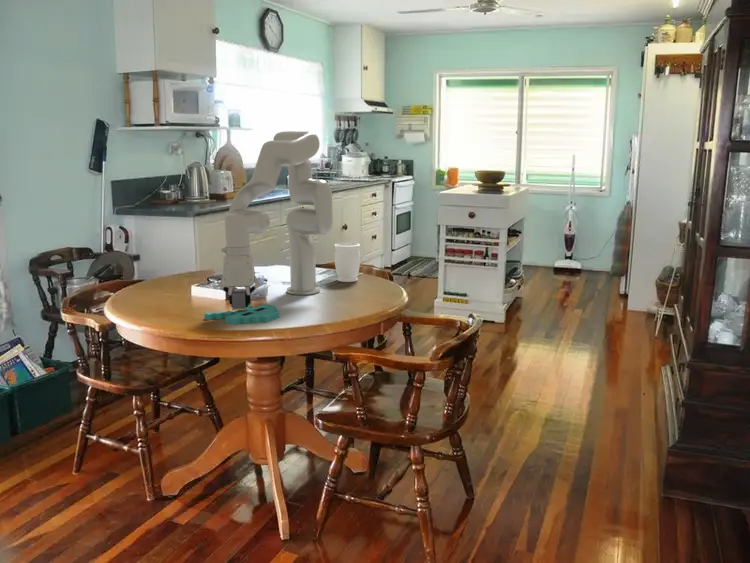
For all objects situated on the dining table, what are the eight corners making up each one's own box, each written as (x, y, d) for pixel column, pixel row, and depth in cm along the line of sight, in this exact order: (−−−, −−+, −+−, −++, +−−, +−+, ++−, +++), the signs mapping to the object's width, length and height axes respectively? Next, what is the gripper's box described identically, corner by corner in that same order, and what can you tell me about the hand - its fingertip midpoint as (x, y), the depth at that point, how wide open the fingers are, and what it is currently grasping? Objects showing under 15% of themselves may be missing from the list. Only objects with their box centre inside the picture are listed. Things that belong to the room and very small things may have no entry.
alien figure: (204, 320, 220) (253, 328, 211) (204, 313, 220) (253, 321, 210) (244, 307, 237) (291, 314, 228) (244, 301, 237) (291, 308, 227)
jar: (365, 279, 281) (365, 243, 277) (350, 284, 272) (350, 247, 269) (344, 276, 286) (344, 241, 283) (329, 281, 278) (329, 244, 275)
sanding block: (235, 304, 228) (235, 288, 227) (247, 304, 228) (247, 288, 227) (232, 310, 221) (231, 293, 220) (244, 310, 222) (244, 293, 220)
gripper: (209, 253, 217) (212, 309, 221) (262, 253, 218) (264, 308, 222) (214, 249, 224) (216, 303, 228) (265, 249, 225) (267, 303, 229)
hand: (240, 305), depth 225 cm, fingers closed on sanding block, 4 cm apart
